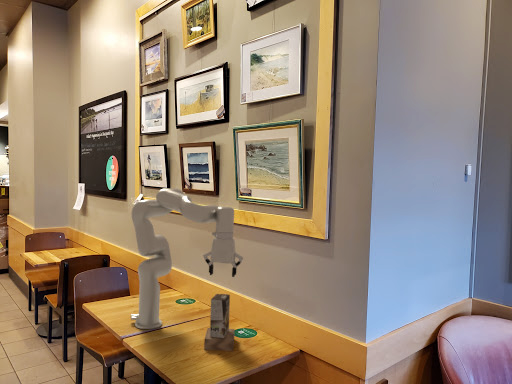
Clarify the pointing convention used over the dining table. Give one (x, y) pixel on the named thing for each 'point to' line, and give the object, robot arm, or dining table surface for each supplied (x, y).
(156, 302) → the robot arm
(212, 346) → the walnut block
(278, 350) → the dining table surface
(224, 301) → the coffee box
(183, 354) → the dining table surface
